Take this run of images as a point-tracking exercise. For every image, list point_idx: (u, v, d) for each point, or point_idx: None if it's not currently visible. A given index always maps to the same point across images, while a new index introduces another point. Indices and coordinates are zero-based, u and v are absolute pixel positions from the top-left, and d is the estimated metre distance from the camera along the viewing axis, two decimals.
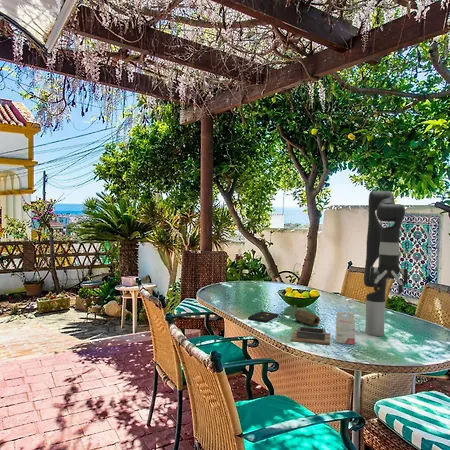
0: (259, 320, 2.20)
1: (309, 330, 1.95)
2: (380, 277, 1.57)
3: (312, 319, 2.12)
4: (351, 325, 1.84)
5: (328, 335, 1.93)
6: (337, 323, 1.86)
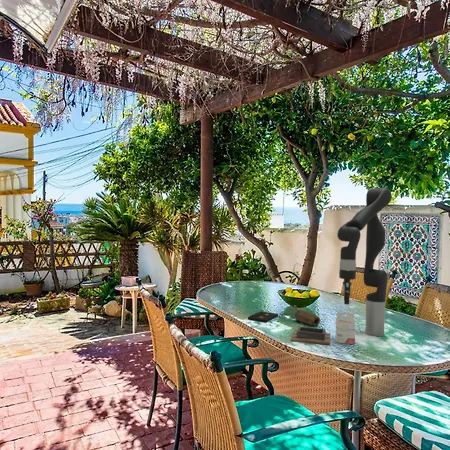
0: (259, 320, 2.20)
1: (309, 330, 1.95)
2: (350, 290, 1.83)
3: (312, 319, 2.12)
4: (351, 325, 1.84)
5: (328, 335, 1.93)
6: (337, 323, 1.86)
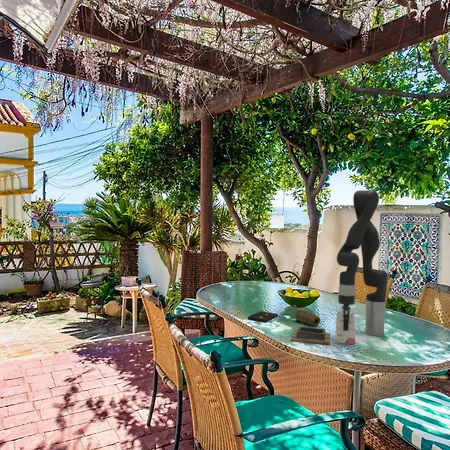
0: (258, 320, 2.20)
1: (309, 330, 1.95)
2: (349, 316, 1.84)
3: (312, 319, 2.12)
4: (351, 325, 1.84)
5: (328, 335, 1.93)
6: (337, 323, 1.86)
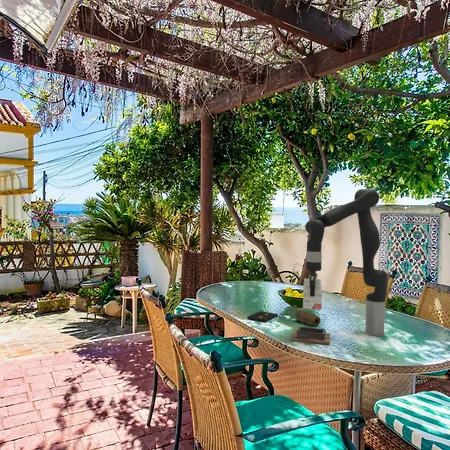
0: (258, 320, 2.20)
1: (309, 330, 1.95)
2: None
3: (312, 319, 2.12)
4: (317, 290, 1.88)
5: (328, 335, 1.93)
6: (304, 289, 1.90)
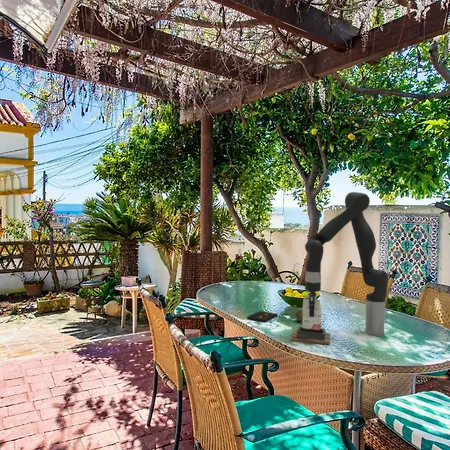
0: (258, 320, 2.20)
1: (309, 330, 1.95)
2: (315, 302, 1.88)
3: None
4: (316, 311, 1.88)
5: (328, 335, 1.93)
6: (303, 309, 1.90)
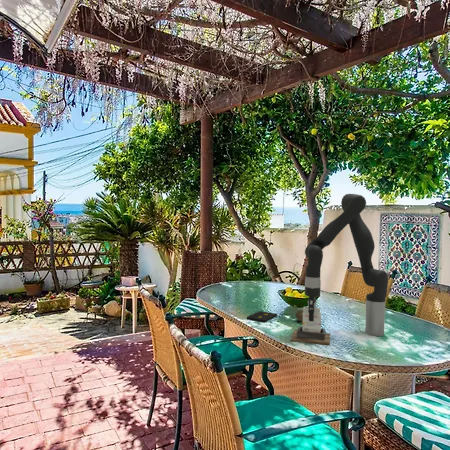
0: (258, 320, 2.20)
1: None
2: None
3: None
4: (316, 319, 1.88)
5: (328, 335, 1.93)
6: (303, 318, 1.90)
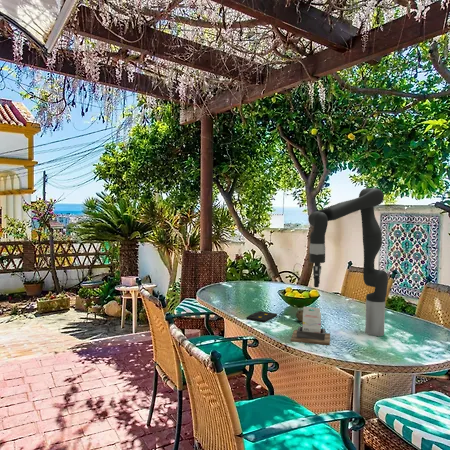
0: (257, 320, 2.20)
1: None
2: (320, 273, 1.88)
3: None
4: (316, 319, 1.88)
5: (328, 335, 1.93)
6: (303, 318, 1.90)
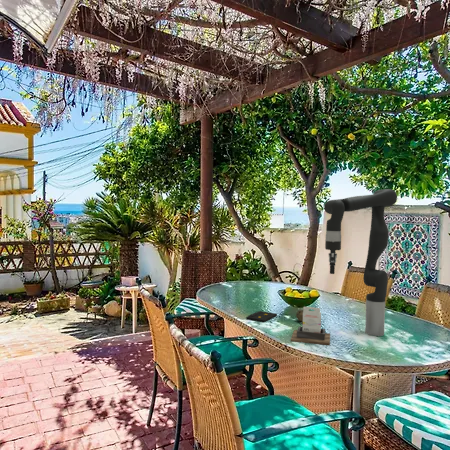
0: (257, 320, 2.20)
1: None
2: None
3: None
4: (316, 319, 1.88)
5: (328, 335, 1.93)
6: (303, 318, 1.90)
